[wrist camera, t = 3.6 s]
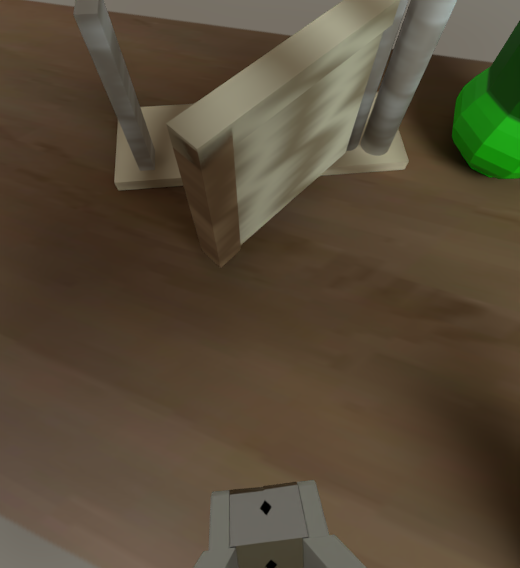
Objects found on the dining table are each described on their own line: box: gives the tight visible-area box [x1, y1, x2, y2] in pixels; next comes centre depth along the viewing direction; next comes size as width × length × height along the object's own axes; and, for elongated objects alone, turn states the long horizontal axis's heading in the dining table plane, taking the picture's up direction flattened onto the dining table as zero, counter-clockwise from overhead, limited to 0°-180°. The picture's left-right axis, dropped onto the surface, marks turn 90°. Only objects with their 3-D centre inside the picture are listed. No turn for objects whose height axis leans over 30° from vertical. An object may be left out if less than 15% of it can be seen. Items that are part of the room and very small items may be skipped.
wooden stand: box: [73, 0, 457, 191], centre depth 26 cm, size 24×8×14 cm, turn 96°
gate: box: [166, 0, 408, 268], centre depth 24 cm, size 16×2×12 cm, turn 136°
